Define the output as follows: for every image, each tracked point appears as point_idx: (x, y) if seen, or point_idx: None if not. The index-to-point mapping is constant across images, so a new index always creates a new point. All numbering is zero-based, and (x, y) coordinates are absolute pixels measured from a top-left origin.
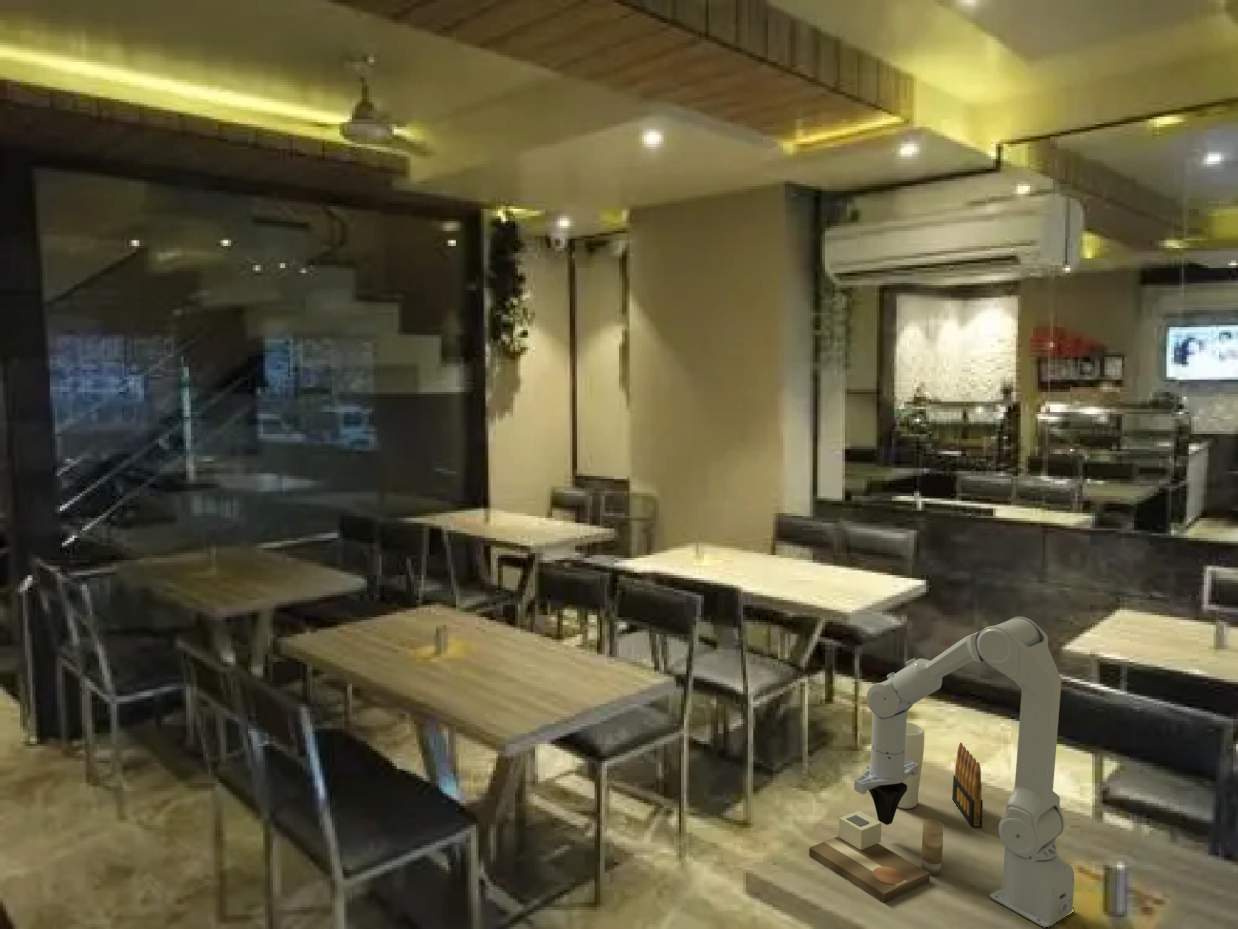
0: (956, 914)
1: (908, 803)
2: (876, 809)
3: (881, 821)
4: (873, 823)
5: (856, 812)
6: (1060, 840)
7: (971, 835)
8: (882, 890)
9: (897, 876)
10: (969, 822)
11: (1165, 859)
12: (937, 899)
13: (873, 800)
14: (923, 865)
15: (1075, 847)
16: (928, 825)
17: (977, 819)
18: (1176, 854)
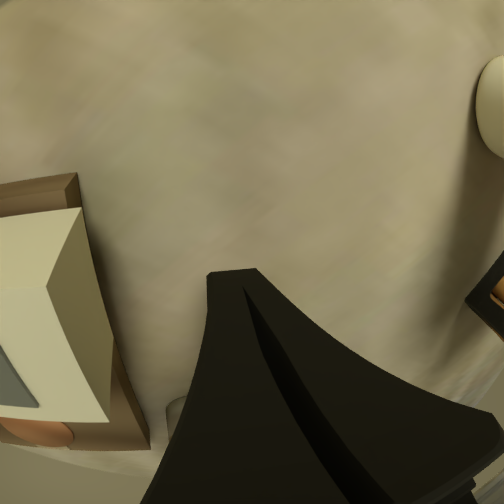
0: (123, 470)
1: (498, 151)
2: (206, 324)
3: (207, 301)
4: (59, 414)
5: (10, 300)
6: (471, 365)
7: (432, 325)
8: (1, 438)
9: (55, 439)
10: (478, 290)
11: (464, 404)
12: (119, 452)
13: (193, 381)
14: (167, 426)
15: (459, 381)
16: None
17: (481, 317)
18: (477, 397)
